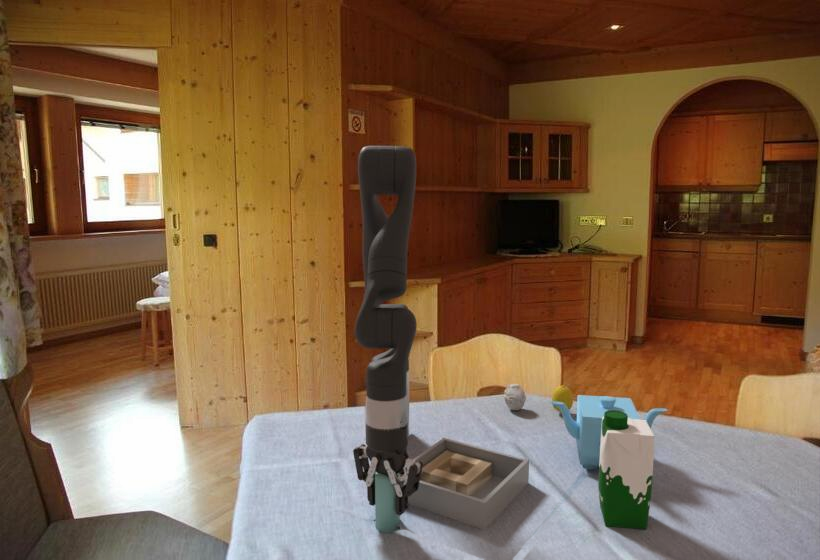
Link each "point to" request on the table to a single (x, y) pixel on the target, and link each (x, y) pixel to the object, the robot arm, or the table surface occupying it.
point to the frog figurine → (514, 397)
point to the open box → (484, 502)
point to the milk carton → (625, 470)
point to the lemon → (562, 397)
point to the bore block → (449, 461)
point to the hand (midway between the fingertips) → (387, 508)
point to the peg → (385, 504)
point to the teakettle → (596, 423)
